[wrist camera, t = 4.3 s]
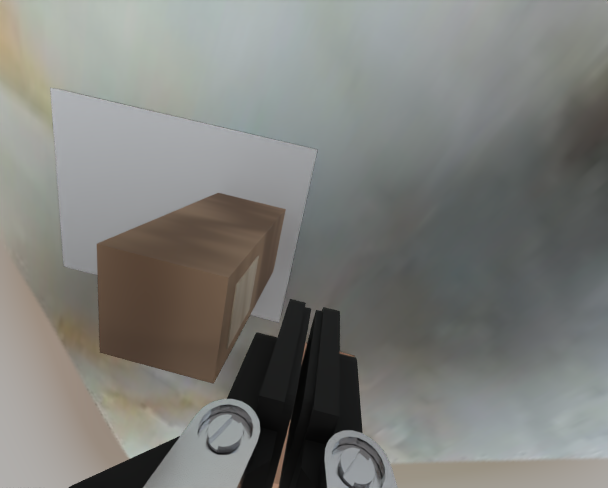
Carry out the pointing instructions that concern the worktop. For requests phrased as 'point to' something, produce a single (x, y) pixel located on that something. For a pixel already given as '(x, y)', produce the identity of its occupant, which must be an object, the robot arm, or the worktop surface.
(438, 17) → the worktop surface
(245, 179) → the mat
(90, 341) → the worktop surface
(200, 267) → the brown cardboard box
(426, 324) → the worktop surface
